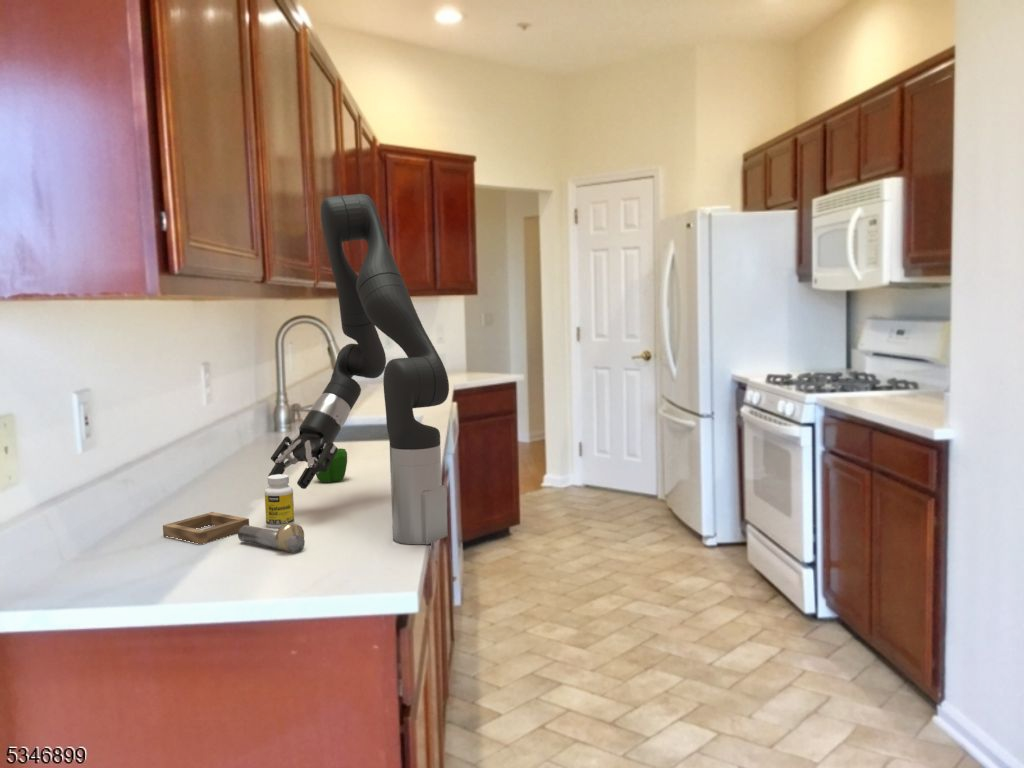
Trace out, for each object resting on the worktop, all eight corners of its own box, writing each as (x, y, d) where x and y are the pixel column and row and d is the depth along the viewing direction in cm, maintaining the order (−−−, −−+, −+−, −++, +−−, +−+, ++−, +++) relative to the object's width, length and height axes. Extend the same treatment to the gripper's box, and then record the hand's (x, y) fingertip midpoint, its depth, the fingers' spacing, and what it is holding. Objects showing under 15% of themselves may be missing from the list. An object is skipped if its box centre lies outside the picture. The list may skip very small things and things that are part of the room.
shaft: (308, 548, 139) (307, 522, 138) (288, 556, 135) (286, 529, 134) (255, 537, 146) (254, 512, 146) (234, 544, 142) (232, 518, 142)
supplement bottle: (265, 529, 152) (263, 480, 151) (266, 522, 157) (264, 474, 156) (294, 527, 153) (292, 477, 152) (294, 520, 159) (292, 472, 158)
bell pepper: (340, 485, 190) (338, 444, 189) (308, 484, 191) (306, 443, 190) (353, 477, 198) (352, 438, 197) (323, 476, 199) (321, 438, 198)
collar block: (249, 529, 152) (248, 518, 152) (200, 544, 143) (199, 533, 142) (212, 522, 158) (212, 511, 158) (163, 536, 148) (162, 525, 148)
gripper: (291, 406, 166) (250, 470, 157) (340, 410, 158) (300, 477, 150) (311, 428, 171) (272, 490, 162) (360, 432, 163) (321, 498, 155)
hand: (285, 484), depth 156 cm, fingers open, 8 cm apart
